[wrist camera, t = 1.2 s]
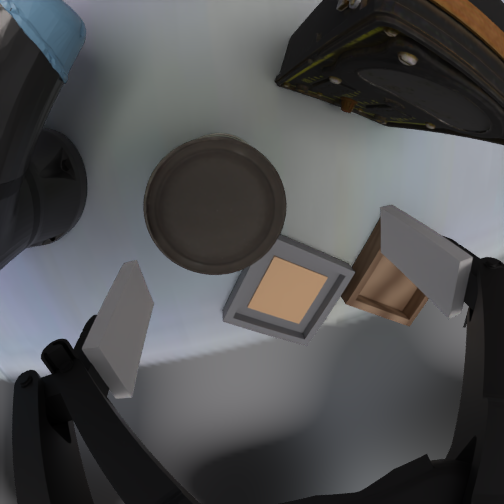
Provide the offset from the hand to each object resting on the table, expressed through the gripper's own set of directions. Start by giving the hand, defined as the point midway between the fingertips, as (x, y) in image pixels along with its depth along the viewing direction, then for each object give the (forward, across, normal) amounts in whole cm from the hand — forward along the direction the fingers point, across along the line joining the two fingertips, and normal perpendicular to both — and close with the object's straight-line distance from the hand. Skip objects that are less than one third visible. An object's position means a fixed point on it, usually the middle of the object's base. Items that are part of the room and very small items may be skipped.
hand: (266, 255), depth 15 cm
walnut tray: (+20, +20, -17) cm, 33 cm away
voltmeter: (+21, +14, +10) cm, 27 cm away
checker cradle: (+20, +3, -16) cm, 26 cm away
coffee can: (+21, -2, 0) cm, 21 cm away
